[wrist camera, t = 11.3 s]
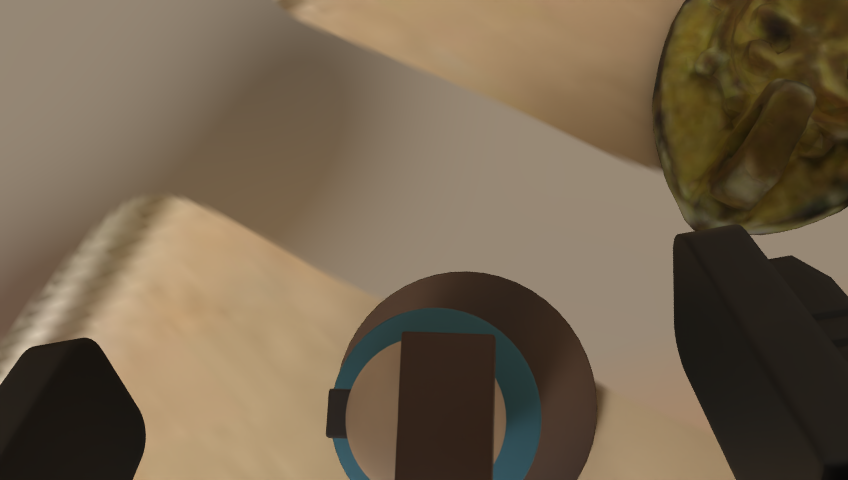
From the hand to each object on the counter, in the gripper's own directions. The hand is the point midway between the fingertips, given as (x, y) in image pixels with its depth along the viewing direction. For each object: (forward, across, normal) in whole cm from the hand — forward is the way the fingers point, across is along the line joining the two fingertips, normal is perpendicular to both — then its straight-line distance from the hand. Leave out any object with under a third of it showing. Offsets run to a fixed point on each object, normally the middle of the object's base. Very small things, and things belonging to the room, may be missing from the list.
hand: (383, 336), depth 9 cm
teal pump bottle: (+9, 0, +10) cm, 13 cm away
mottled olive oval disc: (+17, -14, +5) cm, 22 cm away
